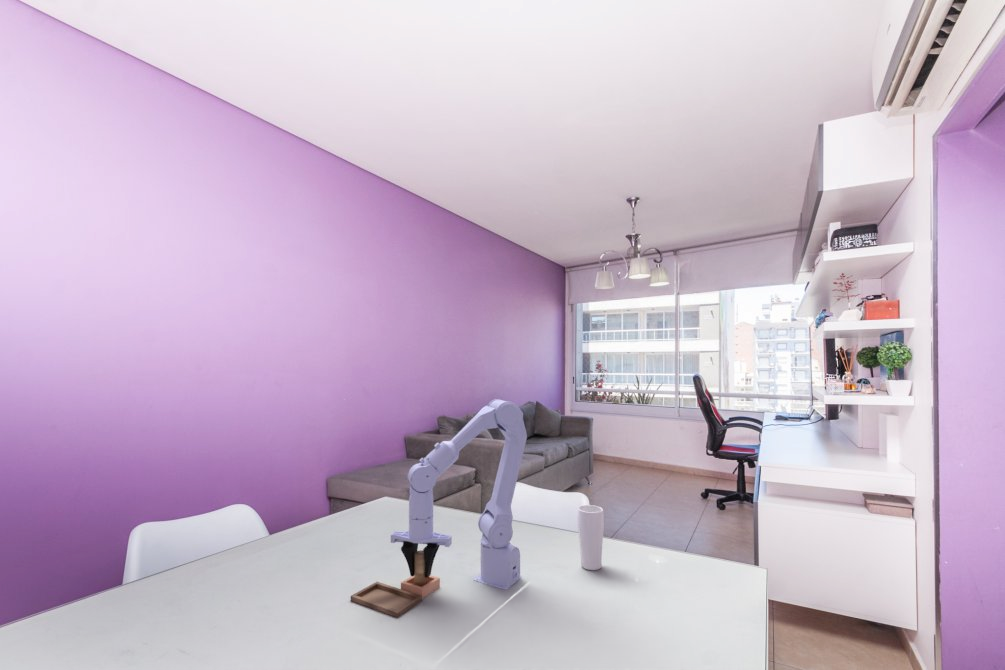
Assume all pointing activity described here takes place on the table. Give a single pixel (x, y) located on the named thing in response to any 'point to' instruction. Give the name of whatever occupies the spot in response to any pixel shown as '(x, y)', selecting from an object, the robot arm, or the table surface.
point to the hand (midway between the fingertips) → (420, 575)
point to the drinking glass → (590, 536)
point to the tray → (386, 599)
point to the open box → (423, 591)
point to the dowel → (419, 569)
